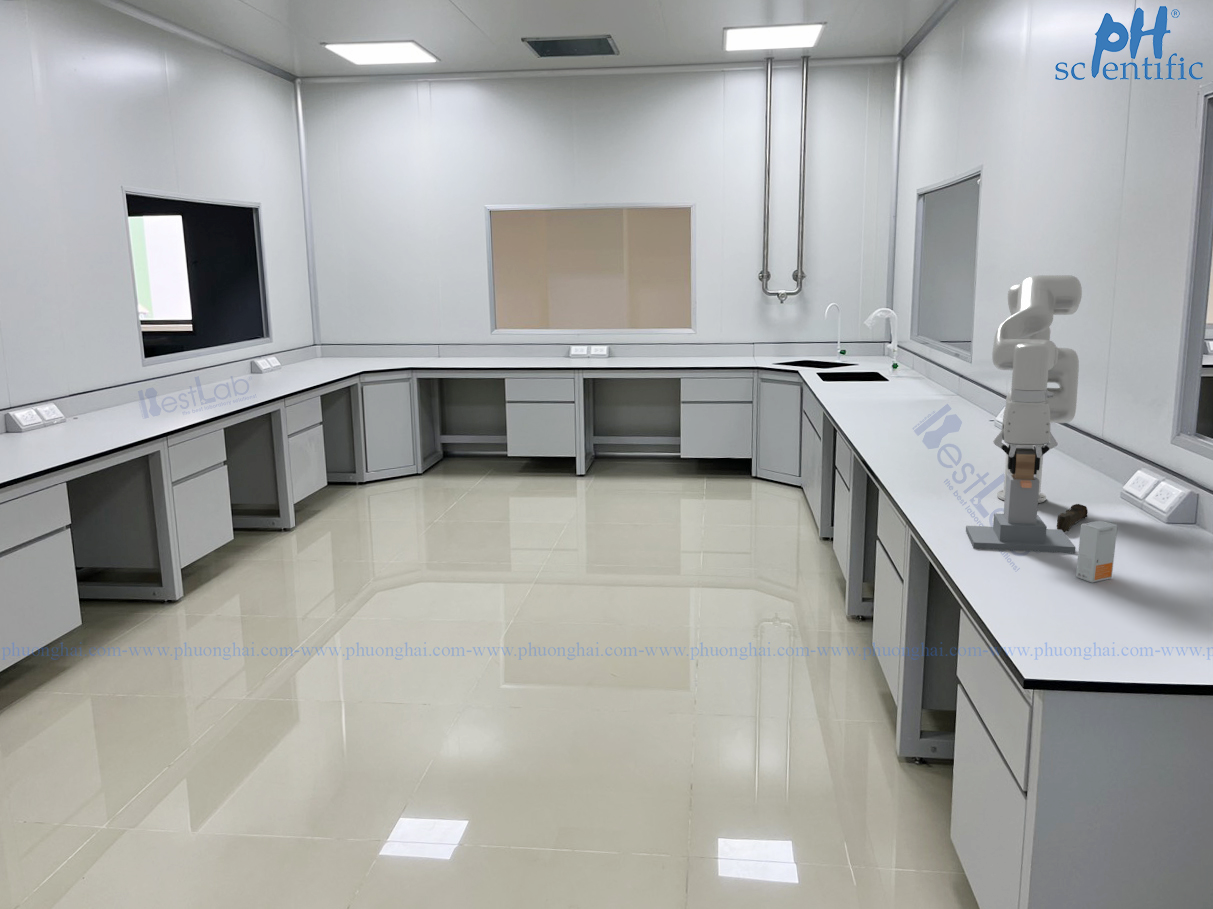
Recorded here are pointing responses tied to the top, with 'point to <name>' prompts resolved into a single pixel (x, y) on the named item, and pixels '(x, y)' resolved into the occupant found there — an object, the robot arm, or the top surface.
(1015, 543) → the stand base
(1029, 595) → the top surface
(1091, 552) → the skincare box
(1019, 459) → the post
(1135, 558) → the top surface
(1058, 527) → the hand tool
